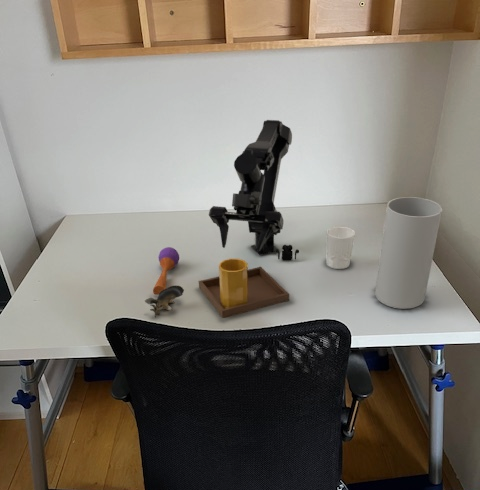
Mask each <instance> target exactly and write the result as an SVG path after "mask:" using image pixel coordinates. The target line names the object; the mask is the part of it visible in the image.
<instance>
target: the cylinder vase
mask: <svg viewBox="0 0 480 490" xmlns="http://www.w3.org/2000/svg"><path fill="white" fill-rule="evenodd" d="M442 212H443V207H442V205H441V204H440V203H438V202H436V201H434V200H431V199H427V198H423V197H414V196H407V197H406V196H405V197H404V196H402V197H396V198H394V199H393V198H392V199H391V200H389V201H388V202H387V203H386V211H385V217H384V225H383V231H382V232H383V233H382V239H381V247H380V252H379V253H380V254H379V260H378V261H379V262H378V268H377V275H376V283H375V290H374V294H375V297H376V299H377V300H378V301H379V302H380V303H381V304H383V305H385V306H387V307H390V308H393V309H399V310H400V309H401V310H408V309H410V310H411V309H414V308H417V307H419V306H421V305H422V304H423V303H424V302H425V299H426V293H427V289H428V284H429V280H430V279H429V278H430V273H431V269H432V265H433V264H432V263H433V258H434V254H435V253H434V252H435V249H436V244H437V238H438V233H439V228H440V224H441V218H442Z"/></svg>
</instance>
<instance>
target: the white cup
mask: <svg viewBox="0 0 480 490" xmlns="http://www.w3.org/2000/svg"><path fill="white" fill-rule="evenodd" d="M355 236H356V231H355V230H353V228H350V227H346V226H332V227H330V228H328V229H327V230H326V242H325V243H326V244H325V245H326V247H325V253H326V254H325V255H326V260H325V261H326V263H325V264H326V265H327V267H328V268H331V269H335V270H343V269H347V268H348V267H350V264H351V258H352V254H353V248H354V242H355Z"/></svg>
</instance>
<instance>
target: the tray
mask: <svg viewBox="0 0 480 490" xmlns="http://www.w3.org/2000/svg"><path fill="white" fill-rule="evenodd" d="M198 289H199V290H200V291H201V292H202V294H203V295H204V296H205V297H206V299H207V300H208V301H209V302H210V304H211V305H212V307H213V308H214V309H215V310H216V312H217V313H218V314H219V316H220V317H221V318H222V319H224V318H228V317H232V316H237V315H239V314H243V313H247V312H251V311H255V310H259V309H262V308H267V307H270V306H274V305H278V304H281V303H285V302H289V301H290V293H289V292H288V291H287V290H286V289H285V288H283V286H282V285H281V284H280V283H278V281H277V280H275V279H274V277H272V276H271V275H270V274H269V273H268V272H267V271H266V270H265V269H264V268H263V267H262V266H257V267H253V268H249V269H248V303H245V304H241V305H237V306H233V307H229V308H225V309H224V308H223V307H222V306H221V300H220V279H219V276H214V277H211V278H206V279H202V280H198Z"/></svg>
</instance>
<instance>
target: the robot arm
mask: <svg viewBox="0 0 480 490" xmlns="http://www.w3.org/2000/svg"><path fill="white" fill-rule="evenodd" d="M292 140H293V133H292V130H291V128H290V127H288V126H287V125H285V124H283V122H282V121H281V120H278V119H277V120H275V119H266V120H264V121H263V123H262V128H261V131H260V133H259V134H258V137H257V138H256V140H255V141H254V142H251V143H249V144H248V145H246V146H245V148H244V150H243V151H242V153H241V154H239V155H238V156H237V157H236V158H235V160H234V162H233V167H234V170H235V173H236V174H237V176H238V179H239V181H240V182H241V185H240V190H238V193H232V201H231V206H232V207H233V210H234V211H235V212H233V211H228V209H227V207H226V206H219V205H218V206H216V205H212V207H210V208H209V211H208V216H209V218H210V220H211V221H212V223H213V224H215V225H216V226H217V227H218V228H219V233H220V239H221V246H222V248H223V249H225V248H226V245H227V242H228V234H229V228H230V226H229V224H228V223H229V222H230V221H239V222H247V223H248V224H247V226H248V232H249V233H252V234H253V233H254V244H252V245H250V248H251V249H252V250H253V251H254V252H255V253H256V254H257V255H258V256H263V255H268V254H273V253H276V252H275V250H277V249H278V248H277V247H276V246H275V236H277V235H278V234H280V233H281V232H282V231H281V230H283V228H284V218H283V215H282V212H281V211H277V209H276V206H275V204H274V203H275V198H276V194H277V193H276V191H277V185H278V181H279V175H280V168H281V163H282V159H283V158H284V157H285V156H286V155H287V154H288V153H289V148H290V146H291V145H292V142H293V141H292ZM262 171H263V172H262Z"/></svg>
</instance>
